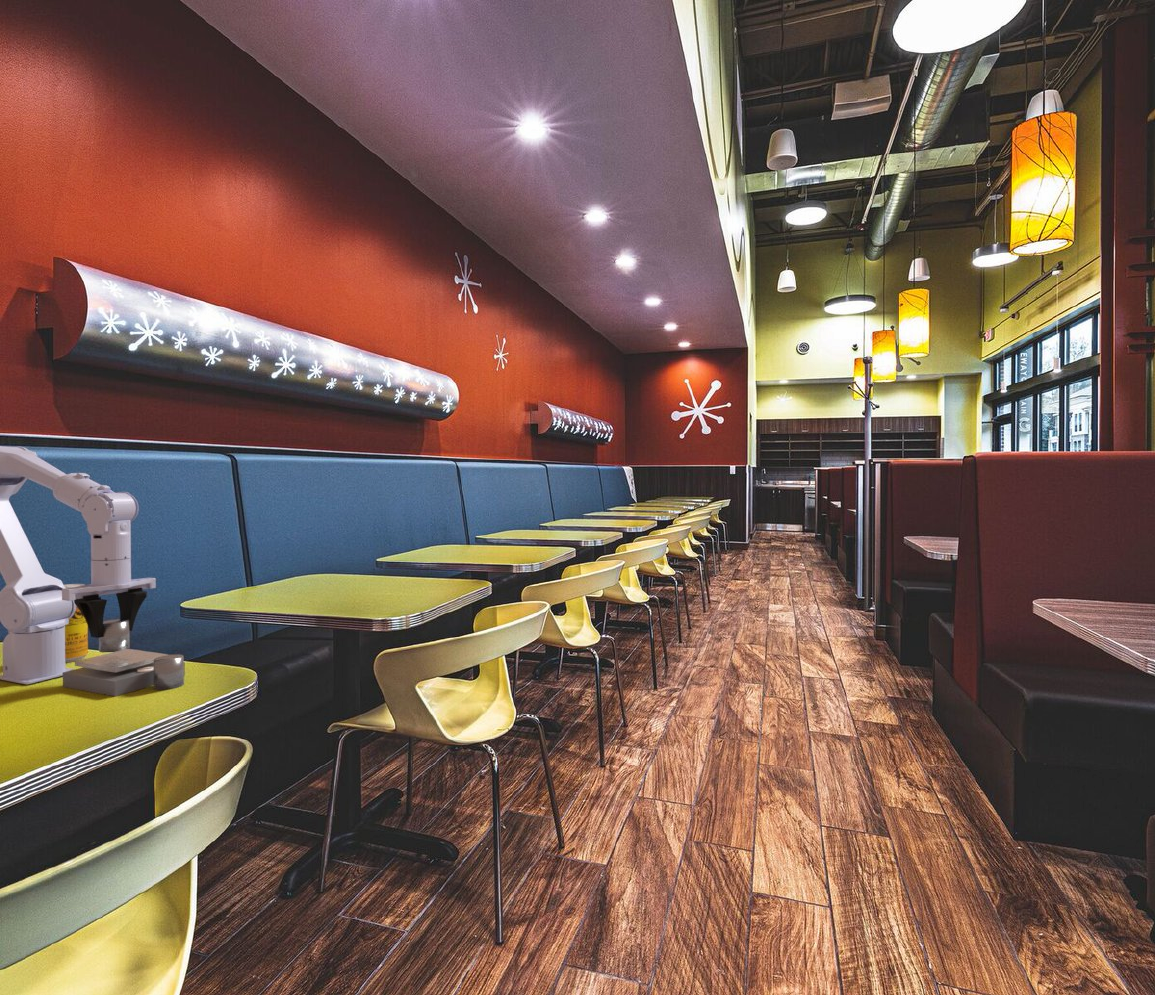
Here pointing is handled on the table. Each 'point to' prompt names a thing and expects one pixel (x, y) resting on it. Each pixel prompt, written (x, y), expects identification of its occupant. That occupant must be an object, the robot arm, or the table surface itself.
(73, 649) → the beer can
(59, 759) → the table surface
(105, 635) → the steel weight
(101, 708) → the table surface
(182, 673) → the cylinder
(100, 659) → the scale pan
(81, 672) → the scale base
